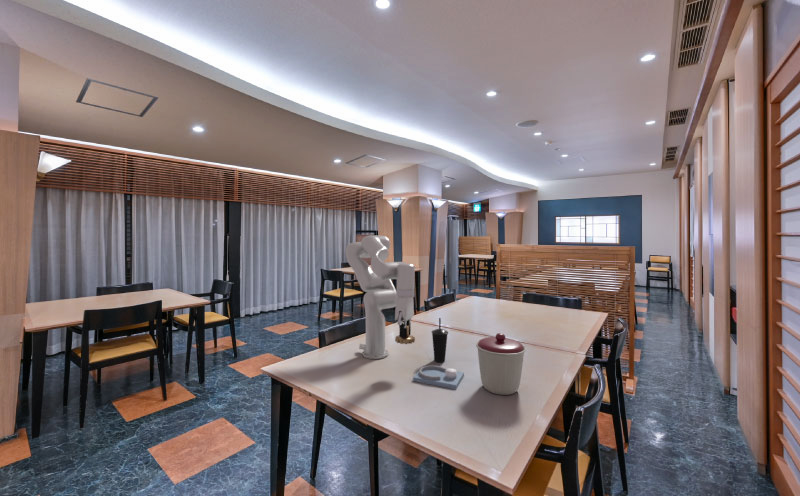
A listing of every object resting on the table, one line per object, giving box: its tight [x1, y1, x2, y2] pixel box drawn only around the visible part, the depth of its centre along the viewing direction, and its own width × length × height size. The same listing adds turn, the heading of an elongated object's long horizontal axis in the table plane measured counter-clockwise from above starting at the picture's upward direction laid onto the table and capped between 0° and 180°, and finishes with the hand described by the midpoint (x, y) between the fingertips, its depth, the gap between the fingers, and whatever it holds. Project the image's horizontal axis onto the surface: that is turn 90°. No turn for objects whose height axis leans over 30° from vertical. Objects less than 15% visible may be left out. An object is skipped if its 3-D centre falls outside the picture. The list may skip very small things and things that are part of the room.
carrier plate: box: [412, 365, 465, 390], centre depth 132 cm, size 18×13×4 cm
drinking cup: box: [431, 317, 449, 364], centre depth 151 cm, size 8×8×20 cm
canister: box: [475, 332, 527, 396], centre depth 123 cm, size 18×18×21 cm
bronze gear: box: [394, 325, 416, 345], centre depth 138 cm, size 8×8×6 cm
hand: (405, 335), depth 138 cm, fingers closed on bronze gear, 3 cm apart
